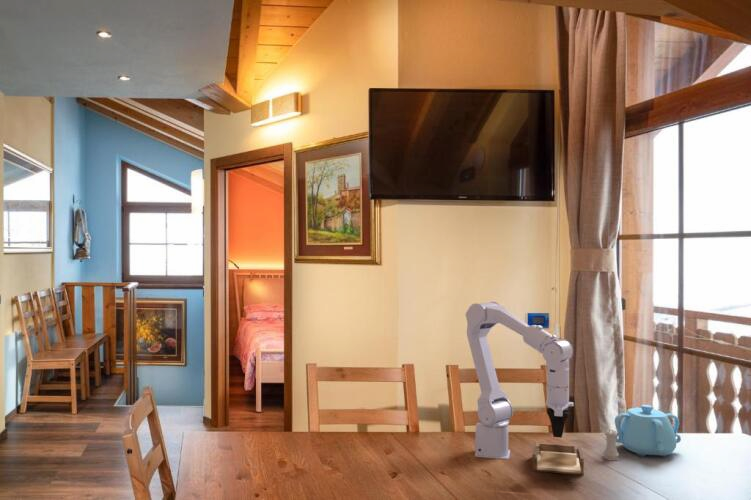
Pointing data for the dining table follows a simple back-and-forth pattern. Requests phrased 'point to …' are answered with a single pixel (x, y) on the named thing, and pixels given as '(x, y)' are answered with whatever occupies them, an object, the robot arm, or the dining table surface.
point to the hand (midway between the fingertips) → (557, 436)
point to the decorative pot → (647, 431)
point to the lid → (558, 461)
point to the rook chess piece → (611, 446)
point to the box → (557, 448)
